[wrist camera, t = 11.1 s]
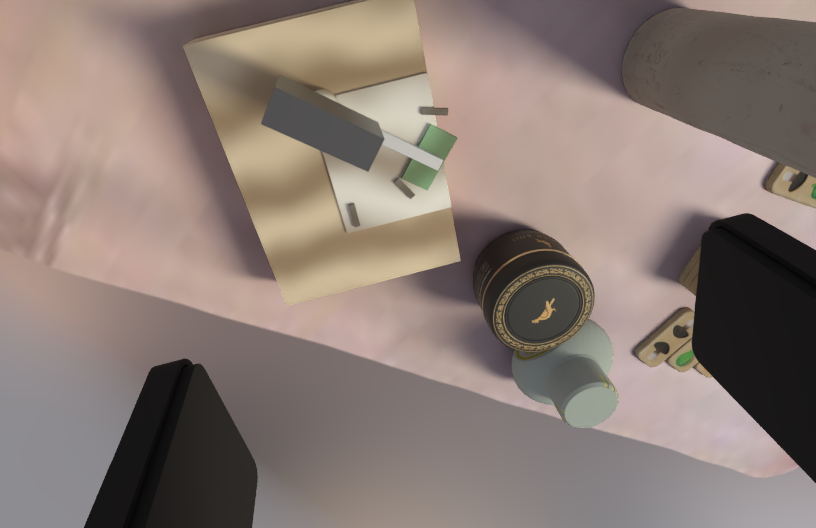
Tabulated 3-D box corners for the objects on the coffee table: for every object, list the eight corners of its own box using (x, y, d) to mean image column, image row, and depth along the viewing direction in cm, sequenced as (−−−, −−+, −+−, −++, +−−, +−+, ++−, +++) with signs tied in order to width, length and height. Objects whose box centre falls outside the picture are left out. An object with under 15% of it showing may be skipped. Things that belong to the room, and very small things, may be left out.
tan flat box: (194, 38, 39) (180, 46, 35) (421, -17, 39) (432, -15, 35) (288, 282, 50) (286, 309, 46) (464, 237, 50) (476, 259, 46)
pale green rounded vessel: (576, 292, 56) (623, 351, 47) (608, 338, 60) (657, 400, 51) (492, 348, 58) (522, 415, 49) (527, 389, 62) (562, 457, 53)
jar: (574, 225, 52) (612, 263, 45) (549, 310, 56) (580, 355, 50) (477, 221, 50) (501, 259, 43) (460, 308, 54) (479, 355, 48)
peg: (269, 99, 37) (260, 124, 32) (282, 67, 37) (275, 86, 31) (430, 174, 42) (449, 208, 36) (445, 147, 41) (466, 177, 35)
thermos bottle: (713, 85, 47) (1138, 211, 22) (628, 120, 47) (955, 281, 23) (707, -9, 42) (1217, 21, 18) (614, 31, 43) (993, 111, 19)
